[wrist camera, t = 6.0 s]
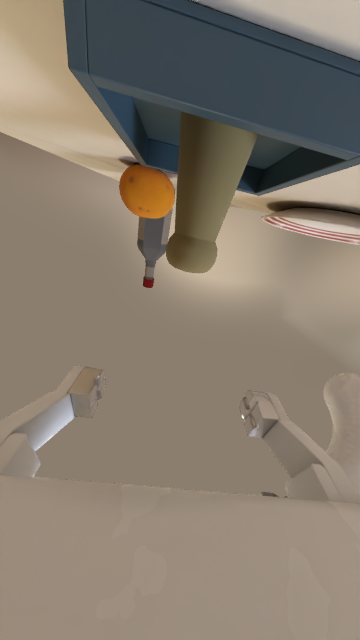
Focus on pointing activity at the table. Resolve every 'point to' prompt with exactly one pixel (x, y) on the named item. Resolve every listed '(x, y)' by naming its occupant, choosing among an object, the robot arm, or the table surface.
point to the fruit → (146, 191)
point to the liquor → (153, 242)
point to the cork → (205, 188)
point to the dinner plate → (318, 223)
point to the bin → (215, 86)
